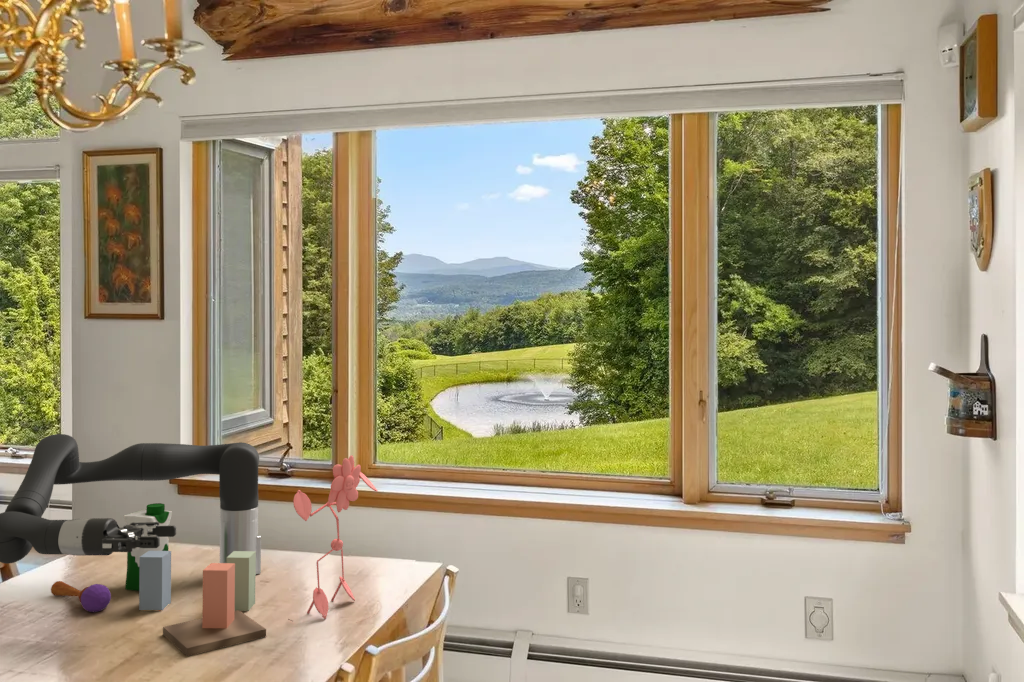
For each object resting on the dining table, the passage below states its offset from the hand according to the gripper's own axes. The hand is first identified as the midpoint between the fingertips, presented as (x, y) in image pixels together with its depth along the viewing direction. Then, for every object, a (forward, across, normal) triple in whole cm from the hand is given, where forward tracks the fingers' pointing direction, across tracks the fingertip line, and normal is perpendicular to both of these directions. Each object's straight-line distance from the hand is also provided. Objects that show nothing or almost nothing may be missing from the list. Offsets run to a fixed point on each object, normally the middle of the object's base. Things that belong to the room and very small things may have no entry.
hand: (167, 536), depth 171 cm
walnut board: (+10, -2, +20) cm, 23 cm away
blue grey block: (-8, +14, +20) cm, 26 cm away
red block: (+10, 0, +18) cm, 21 cm away
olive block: (+10, +14, +20) cm, 27 cm away
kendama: (-26, +15, +20) cm, 36 cm away
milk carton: (-16, +28, +20) cm, 38 cm away
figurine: (+34, +12, +21) cm, 42 cm away
